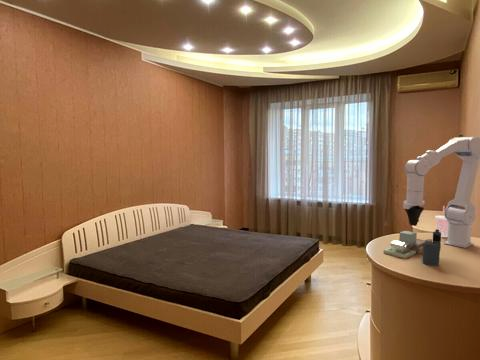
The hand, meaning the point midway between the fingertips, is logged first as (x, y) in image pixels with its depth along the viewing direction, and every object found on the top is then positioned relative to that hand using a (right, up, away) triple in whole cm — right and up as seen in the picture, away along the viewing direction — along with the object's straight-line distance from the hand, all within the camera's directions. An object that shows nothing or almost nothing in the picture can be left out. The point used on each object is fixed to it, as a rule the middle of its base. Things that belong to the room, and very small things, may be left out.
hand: (413, 225), depth 127 cm
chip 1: (-8, -7, -6) cm, 12 cm away
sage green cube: (-3, -8, -2) cm, 8 cm away
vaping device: (-3, -11, -17) cm, 20 cm away
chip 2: (-6, -9, -4) cm, 12 cm away
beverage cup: (+23, -8, +19) cm, 31 cm away
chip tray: (-8, -10, -5) cm, 14 cm away
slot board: (+1, -9, +2) cm, 10 cm away
